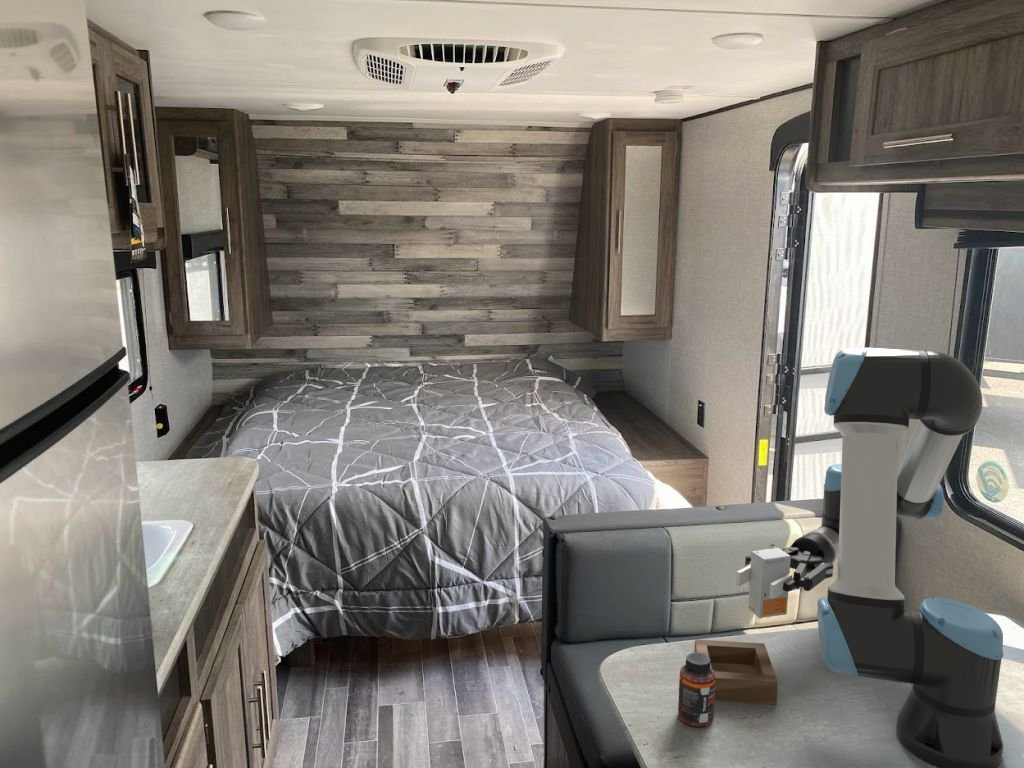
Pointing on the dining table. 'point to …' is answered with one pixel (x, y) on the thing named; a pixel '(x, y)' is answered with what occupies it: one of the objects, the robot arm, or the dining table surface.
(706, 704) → the supplement bottle
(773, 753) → the dining table surface
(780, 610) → the skincare box
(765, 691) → the walnut tray
